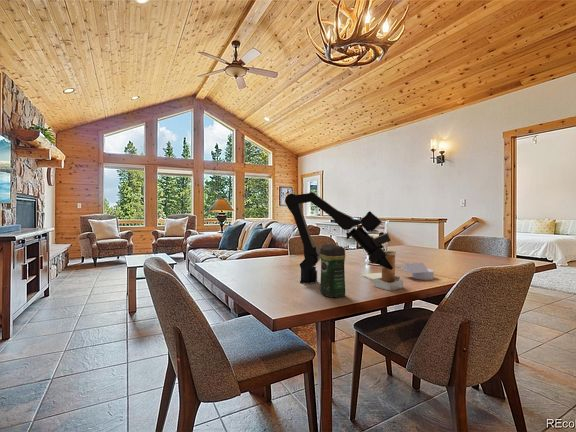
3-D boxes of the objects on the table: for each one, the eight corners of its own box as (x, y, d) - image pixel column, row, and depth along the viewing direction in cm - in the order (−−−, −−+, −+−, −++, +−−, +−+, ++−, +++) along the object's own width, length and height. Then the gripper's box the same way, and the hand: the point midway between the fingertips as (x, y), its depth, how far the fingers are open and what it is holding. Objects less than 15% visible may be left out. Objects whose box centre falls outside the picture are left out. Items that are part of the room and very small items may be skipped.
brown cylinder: (381, 285, 119) (381, 252, 118) (380, 281, 124) (380, 250, 124) (396, 286, 117) (396, 253, 117) (394, 282, 123) (395, 251, 122)
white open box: (389, 290, 115) (389, 281, 115) (373, 286, 122) (373, 277, 122) (406, 287, 120) (406, 278, 120) (389, 282, 127) (389, 274, 127)
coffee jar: (349, 296, 108) (349, 245, 108) (330, 299, 105) (330, 247, 104) (334, 289, 117) (334, 242, 116) (317, 292, 114) (316, 243, 113)
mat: (375, 281, 130) (375, 279, 130) (361, 275, 140) (361, 274, 140) (396, 279, 134) (396, 277, 134) (380, 273, 144) (380, 272, 144)
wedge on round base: (411, 280, 131) (438, 279, 133) (411, 265, 131) (438, 264, 133) (400, 275, 140) (425, 274, 142) (400, 261, 140) (425, 260, 142)
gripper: (378, 227, 112) (409, 258, 109) (378, 224, 130) (405, 250, 127) (356, 247, 115) (386, 278, 112) (359, 242, 133) (385, 268, 130)
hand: (391, 267), depth 120 cm, fingers closed on brown cylinder, 5 cm apart
